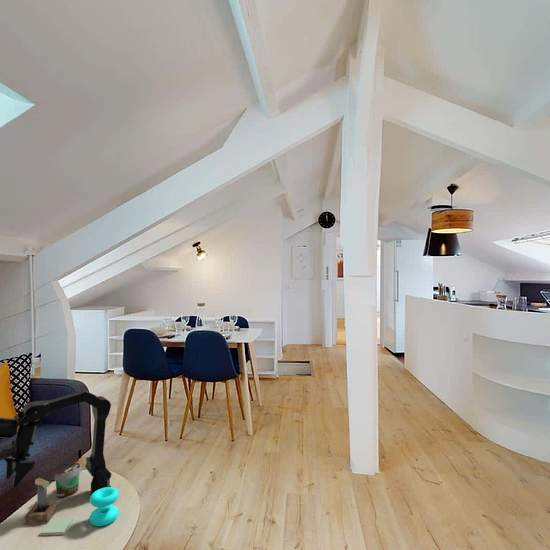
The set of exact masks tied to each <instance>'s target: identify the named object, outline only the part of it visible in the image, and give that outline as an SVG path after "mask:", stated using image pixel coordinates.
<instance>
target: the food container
mask: <svg viewBox="0 0 550 550" xmlns="http://www.w3.org/2000/svg"><path fill="white" fill-rule="evenodd" d="M81 472H82V465H81V463H80V462H78V461H74V464H72V465H71V466H69V467H68V468H65V469H64V470H63V471H62V472H61V473H60V474H55V475H54V481H55V488H56V490H55V491H56V498H57V499H64V498H68V497H71V496H73V495H75V494H76V493H78V490H79V485H80V474H81Z"/></svg>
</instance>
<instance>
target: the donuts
mask: <svg viewBox="0 0 550 550" xmlns="http://www.w3.org/2000/svg"><path fill="white" fill-rule="evenodd" d="M119 495H120V494H119V490H118V489H117V488H116V487H112V486H111V487H105V488H101V489H99V490H97V491H95V492H94V493H93V494H92V495H91V496H90V497H89V502H90V504H91V506H93V507H94V508H95V509H94V510H93V511H92V512H91V513H90V515H89V522H90V524H91V525H93V526H95V527H103V526H107V525H110V524H112V523H113V522H114V521H116V519H117V518H118V516H119V508H118V507H117V506H115V505H113V504H114V503H115V502H116V501H117V500H118V498H119Z"/></svg>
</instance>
